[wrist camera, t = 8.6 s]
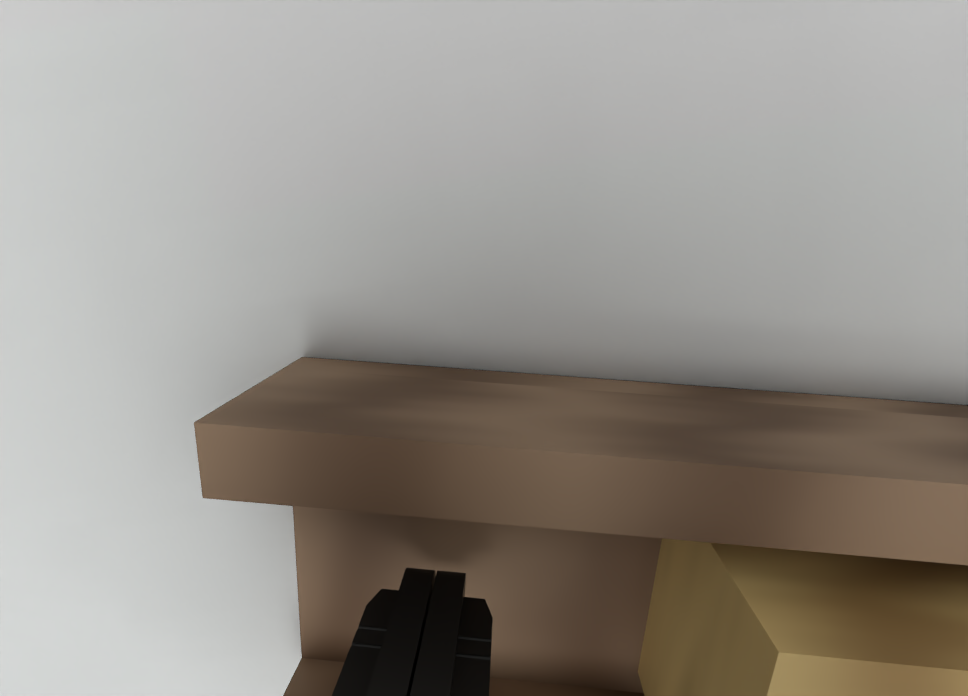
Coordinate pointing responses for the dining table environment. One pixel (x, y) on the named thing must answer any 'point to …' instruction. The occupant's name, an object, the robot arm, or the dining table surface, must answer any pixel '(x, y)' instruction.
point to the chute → (566, 496)
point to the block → (803, 624)
